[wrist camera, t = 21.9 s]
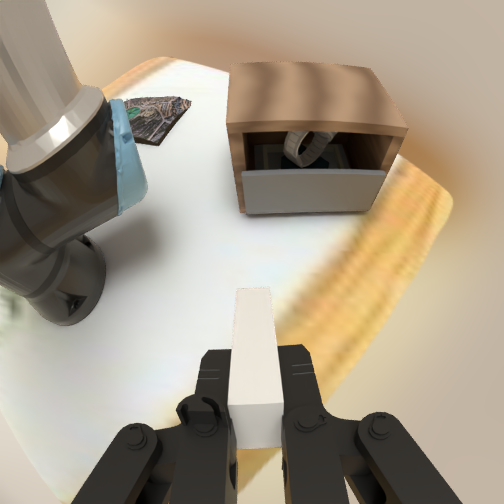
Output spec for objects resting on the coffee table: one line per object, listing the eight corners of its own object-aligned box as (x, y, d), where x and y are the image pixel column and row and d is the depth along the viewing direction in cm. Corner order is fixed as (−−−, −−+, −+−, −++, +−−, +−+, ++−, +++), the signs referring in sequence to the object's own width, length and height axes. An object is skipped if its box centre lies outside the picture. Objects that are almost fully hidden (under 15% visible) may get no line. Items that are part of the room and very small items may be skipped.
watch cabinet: (240, 212, 41) (225, 123, 26) (240, 147, 47) (230, 64, 32) (369, 209, 41) (408, 128, 25) (350, 146, 47) (370, 68, 31)
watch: (333, 169, 41) (347, 115, 31) (300, 198, 39) (309, 142, 29) (306, 151, 43) (312, 96, 33) (272, 177, 41) (272, 120, 31)
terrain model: (194, 103, 55) (192, 92, 52) (159, 148, 50) (154, 137, 47) (127, 100, 59) (124, 91, 56) (92, 140, 53) (86, 131, 50)
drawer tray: (246, 214, 40) (241, 176, 32) (245, 149, 45) (241, 110, 38) (367, 210, 39) (385, 175, 31) (349, 148, 45) (359, 112, 37)
